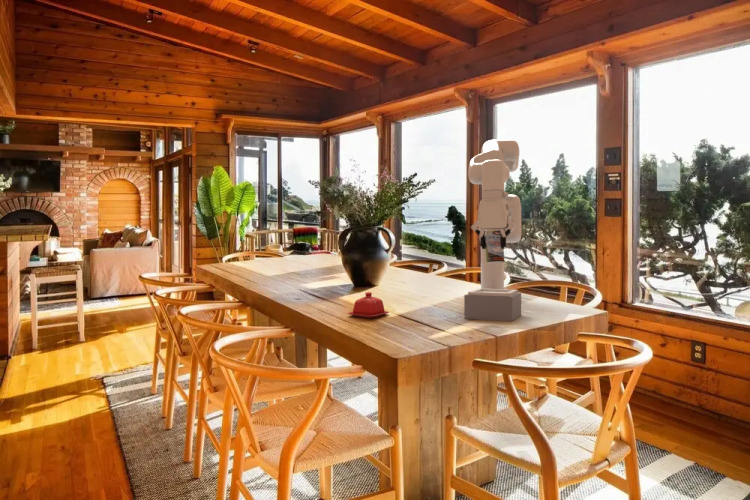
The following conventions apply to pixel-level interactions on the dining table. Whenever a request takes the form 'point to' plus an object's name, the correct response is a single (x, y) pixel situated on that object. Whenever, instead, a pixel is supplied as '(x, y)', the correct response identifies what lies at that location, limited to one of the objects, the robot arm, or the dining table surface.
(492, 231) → the beverage can
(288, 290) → the dining table surface
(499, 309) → the stand
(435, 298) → the dining table surface
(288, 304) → the dining table surface
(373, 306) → the butter dish
